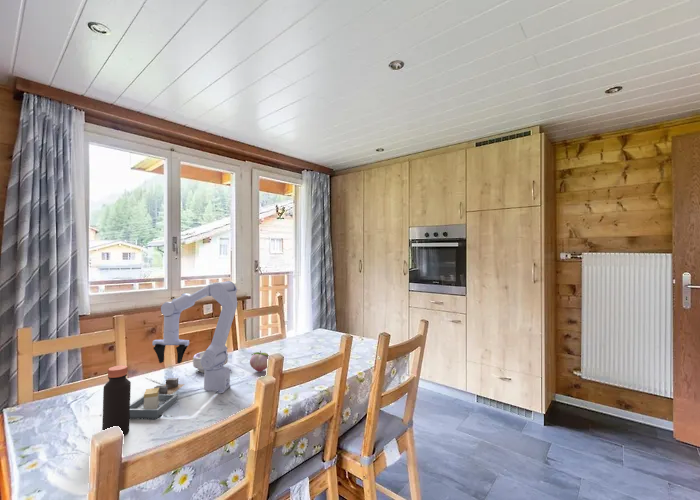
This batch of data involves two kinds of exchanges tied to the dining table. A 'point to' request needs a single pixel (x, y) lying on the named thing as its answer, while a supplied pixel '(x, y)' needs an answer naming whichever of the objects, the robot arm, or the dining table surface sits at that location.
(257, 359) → the decorative fruit
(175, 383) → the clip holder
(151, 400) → the white and tan block
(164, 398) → the tray
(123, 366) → the bottle
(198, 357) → the white bowl
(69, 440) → the dining table surface
